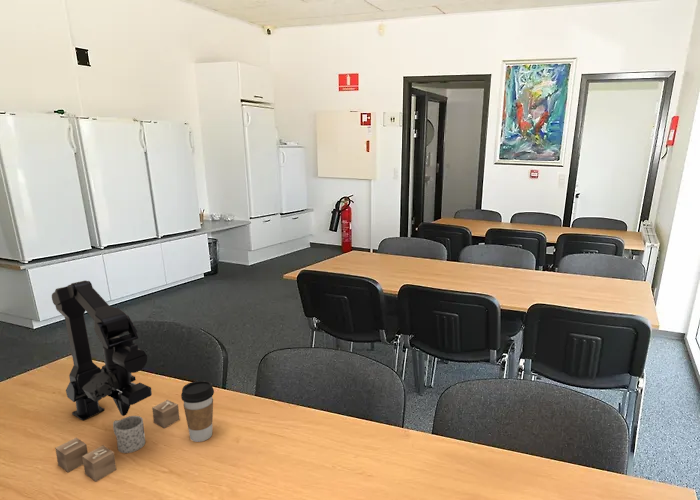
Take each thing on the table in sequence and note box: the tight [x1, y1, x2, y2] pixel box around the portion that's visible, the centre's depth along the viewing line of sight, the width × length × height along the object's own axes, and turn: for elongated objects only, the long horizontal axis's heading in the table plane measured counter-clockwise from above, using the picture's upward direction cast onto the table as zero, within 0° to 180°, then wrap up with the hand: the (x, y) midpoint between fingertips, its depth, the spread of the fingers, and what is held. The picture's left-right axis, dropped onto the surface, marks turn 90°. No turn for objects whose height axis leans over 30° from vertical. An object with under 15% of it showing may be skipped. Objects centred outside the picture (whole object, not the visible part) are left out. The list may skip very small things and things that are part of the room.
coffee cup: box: [180, 380, 215, 443], centre depth 122 cm, size 8×8×15 cm
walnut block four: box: [82, 444, 117, 482], centre depth 109 cm, size 5×5×5 cm
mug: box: [112, 415, 146, 454], centre depth 120 cm, size 10×7×7 cm, turn 62°
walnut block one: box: [55, 437, 89, 473], centre depth 112 cm, size 5×5×5 cm
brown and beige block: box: [151, 399, 180, 429], centre depth 130 cm, size 5×5×5 cm
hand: (124, 414), depth 119 cm, fingers closed
